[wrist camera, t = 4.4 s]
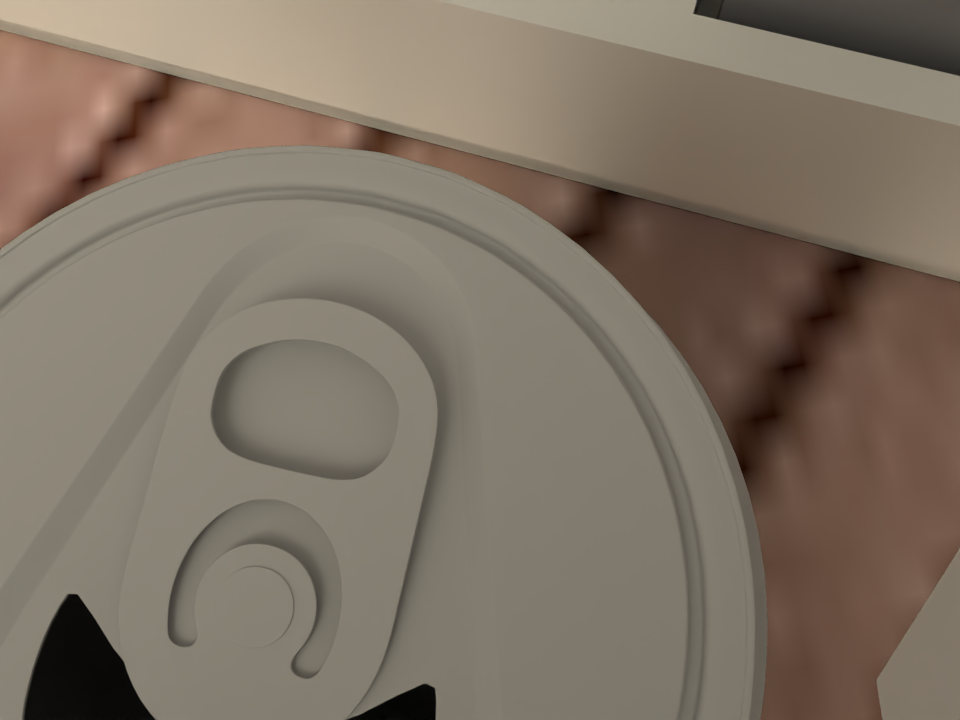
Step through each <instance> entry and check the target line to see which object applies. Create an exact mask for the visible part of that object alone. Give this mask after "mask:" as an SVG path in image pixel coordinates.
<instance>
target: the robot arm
mask: <svg viewBox="0 0 960 720" xmlns="http://www.w3.org/2000/svg"><path fill="white" fill-rule="evenodd" d="M876 682H877V688H878V695H879V701H880V708H881V714H882V720H960V549H959V550H958V552H957V553H956V555H955V557H954V558H953V560H952V561H951V563H950V565H949V566H948V568H947V569H946V571H945V572H944V574H943V576H942V577H941V579H940V580H939V582H938V583H937V585H936V587H935V588H934V590H933V591H932V593H931V595H930V596H929V598H928V599H927V601H926V602H925V604H924V606H923V607H922V609H921V610H920V612H919V614H918V615H917V617H916V618H915V620H914V621H913V623H912V625H911V626H910V628H909V629H908V631H907V632H906V634H905V636H904V637H903V639H902V640H901V642H900V644H899V645H898V647H897V648H896V650H895V651H894V653H893V655H892V656H891V658H890V659H889V661H888V662H887V664H886V666H885V667H884V669H883V670H882V672H881V674H880V675H879V677H878V678H877V680H876Z"/></svg>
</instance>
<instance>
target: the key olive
mask: <svg viewBox="0 0 960 720" xmlns="http://www.w3.org/2000/svg"><path fill="white" fill-rule="evenodd" d="M717 20H722V21H726V22H730V23H735V24H739V25H743V26H747V27H752V28H756V29H760V30H765V31H769V32H773V33H777V34H782V35H786V36H790V37H795V38H799V39H803V40H807V41H812V42H816V43H820V44H825V45H829V46H833V47H837V48H842V49H846V50H850V51H855V52H859V53H863V54H867V55H872V56H876V57H880V58H885V59H889V60H893V61H897V62H902V63H906V64H910V65H915V66H919V67H923V68H927V69H932V70H936V71H940V72H945V73H949V74H953V75H957V76H960V0H722V3H721V6H720V9H719V13H718V16H717Z"/></svg>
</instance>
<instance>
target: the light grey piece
mask: <svg viewBox="0 0 960 720" xmlns="http://www.w3.org/2000/svg"><path fill="white" fill-rule="evenodd" d="M721 3H722V0H0V30H3V31H7V32H11V33H14V34H18V35H22V36H26V37H30V38H34V39H37V40H41V41H45V42H49V43H53V44H56V45H60V46H64V47H68V48H72V49H75V50H79V51H83V52H87V53H91V54H94V55H98V56H102V57H106V58H110V59H113V60H117V61H121V62H125V63H129V64H132V65H136V66H140V67H144V68H148V69H151V70H155V71H159V72H163V73H167V74H170V75H174V76H178V77H182V78H186V79H189V80H193V81H197V82H201V83H205V84H209V85H212V86H216V87H220V88H224V89H228V90H231V91H235V92H239V93H243V94H247V95H250V96H254V97H258V98H262V99H266V100H269V101H273V102H277V103H281V104H285V105H288V106H292V107H296V108H300V109H304V110H307V111H311V112H315V113H319V114H323V115H326V116H330V117H334V118H338V119H342V120H345V121H349V122H353V123H357V124H361V125H364V126H368V127H372V128H376V129H380V130H384V131H387V132H391V133H395V134H399V135H403V136H406V137H410V138H414V139H418V140H422V141H425V142H429V143H433V144H437V145H441V146H444V147H448V148H452V149H456V150H460V151H463V152H467V153H471V154H475V155H479V156H482V157H486V158H490V159H494V160H498V161H501V162H505V163H509V164H513V165H517V166H520V167H524V168H528V169H532V170H536V171H539V172H543V173H547V174H551V175H555V176H559V177H562V178H566V179H570V180H574V181H578V182H581V183H585V184H589V185H593V186H597V187H600V188H604V189H608V190H612V191H616V192H619V193H623V194H627V195H631V196H635V197H638V198H642V199H646V200H650V201H654V202H657V203H661V204H665V205H669V206H673V207H676V208H680V209H684V210H688V211H692V212H695V213H699V214H703V215H707V216H711V217H714V218H718V219H722V220H726V221H730V222H734V223H737V224H741V225H745V226H749V227H753V228H756V229H760V230H764V231H768V232H772V233H775V234H779V235H783V236H787V237H791V238H794V239H798V240H802V241H806V242H810V243H813V244H817V245H821V246H825V247H829V248H832V249H836V250H840V251H844V252H848V253H851V254H855V255H859V256H863V257H867V258H870V259H874V260H878V261H882V262H886V263H889V264H893V265H897V266H901V267H905V268H909V269H912V270H916V271H920V272H924V273H928V274H931V275H935V276H939V277H943V278H947V279H950V280H954V281H958V282H960V76H957V75H953V74H949V73H945V72H940V71H936V70H932V69H927V68H923V67H919V66H915V65H910V64H906V63H902V62H897V61H893V60H889V59H885V58H880V57H876V56H872V55H867V54H863V53H859V52H855V51H850V50H846V49H842V48H837V47H833V46H829V45H825V44H820V43H816V42H812V41H807V40H803V39H799V38H795V37H790V36H786V35H782V34H777V33H773V32H769V31H765V30H760V29H756V28H752V27H747V26H743V25H739V24H735V23H730V22H726V21H722V20H717V16H718V13H719V9H720V6H721Z"/></svg>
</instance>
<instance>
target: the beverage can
mask: <svg viewBox="0 0 960 720" xmlns="http://www.w3.org/2000/svg"><path fill="white" fill-rule="evenodd" d="M767 620H768V615H767V600H766V585H765V573H764V566H763V559H762V553H761V546H760V540H759V533H758V529H757V525H756V521H755V517H754V513H753V509H752V504H751V500H750V496H749V493H748V490H747V487H746V484H745V481H744V478H743V475H742V472H741V469H740V466H739V463H738V460H737V457H736V454H735V452H734V450H733V448H732V445H731V443H730V441H729V438H728V436H727V434H726V431H725V429H724V427H723V424H722V422H721V420H720V418H719V416H718V414H717V412H716V411H715V409H714V407H713V405H712V403H711V401H710V399H709V398H708V396H707V394H706V392H705V390H704V388H703V387H702V385H701V383H700V382H699V380H698V379H697V377H696V376H695V374H694V373H693V371H692V370H691V368H690V367H689V365H688V364H687V362H686V360H685V359H684V357H683V356H682V355H681V353H680V352H679V351H678V349H677V348H676V347H675V346H674V344H673V343H672V342H671V340H670V339H669V338H668V337H667V335H666V334H665V333H664V331H663V330H662V329H661V328H660V326H659V325H658V324H657V323H656V322H655V321H654V320H653V319H652V318H651V317H650V316H649V314H648V313H647V312H646V311H645V310H644V309H643V308H642V307H641V305H640V304H639V303H638V302H637V301H636V300H635V299H634V298H633V296H632V295H631V294H630V293H629V292H628V291H627V290H626V289H625V288H624V287H623V286H622V285H621V284H620V282H619V281H618V280H617V279H616V278H615V277H614V276H613V275H612V274H611V273H610V272H609V271H608V270H607V269H605V268H604V267H603V266H602V265H601V264H600V263H599V262H598V261H597V260H595V259H594V258H593V257H592V256H591V255H590V254H589V253H588V252H587V251H586V250H584V249H583V248H582V247H581V246H579V245H578V244H577V243H575V242H574V241H573V240H571V239H570V238H569V237H568V236H566V235H565V234H564V233H562V232H561V231H560V230H558V229H557V228H556V227H554V226H553V225H552V224H550V223H549V222H547V221H545V220H544V219H542V218H541V217H539V216H538V215H536V214H535V213H533V212H532V211H530V210H529V209H527V208H526V207H524V206H522V205H520V204H519V203H517V202H515V201H513V200H511V199H510V198H508V197H506V196H504V195H502V194H500V193H498V192H496V191H493V190H491V189H489V188H487V187H485V186H483V185H481V184H478V183H476V182H474V181H472V180H470V179H467V178H465V177H462V176H460V175H458V174H455V173H453V172H450V171H446V170H443V169H440V168H437V167H434V166H430V165H427V164H423V163H419V162H416V161H412V160H409V159H405V158H401V157H398V156H393V155H389V154H384V153H379V152H372V151H365V150H356V149H346V148H337V147H327V146H310V145H300V146H275V147H258V148H246V149H238V150H230V151H225V152H220V153H215V154H210V155H205V156H200V157H195V158H191V159H188V160H184V161H180V162H176V163H172V164H168V165H165V166H161V167H158V168H155V169H152V170H149V171H146V172H144V173H141V174H138V175H135V176H132V177H129V178H126V179H124V180H121V181H119V182H117V183H114V184H112V185H110V186H108V187H105V188H103V189H101V190H98V191H96V192H94V193H91V194H89V195H87V196H86V197H84V198H82V199H80V200H78V201H76V202H74V203H72V204H70V205H68V206H67V207H65V208H63V209H61V210H59V211H57V212H55V213H54V214H52V215H51V216H49V217H47V218H46V219H44V220H43V221H41V222H39V223H38V224H36V225H35V226H33V227H31V228H30V229H28V230H27V231H25V232H24V233H22V234H21V235H19V236H18V237H17V238H15V239H14V240H13V241H11V242H10V243H9V244H7V245H6V246H4V247H3V248H2V249H0V720H760V717H761V712H762V705H763V698H764V688H765V675H766V662H767Z"/></svg>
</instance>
